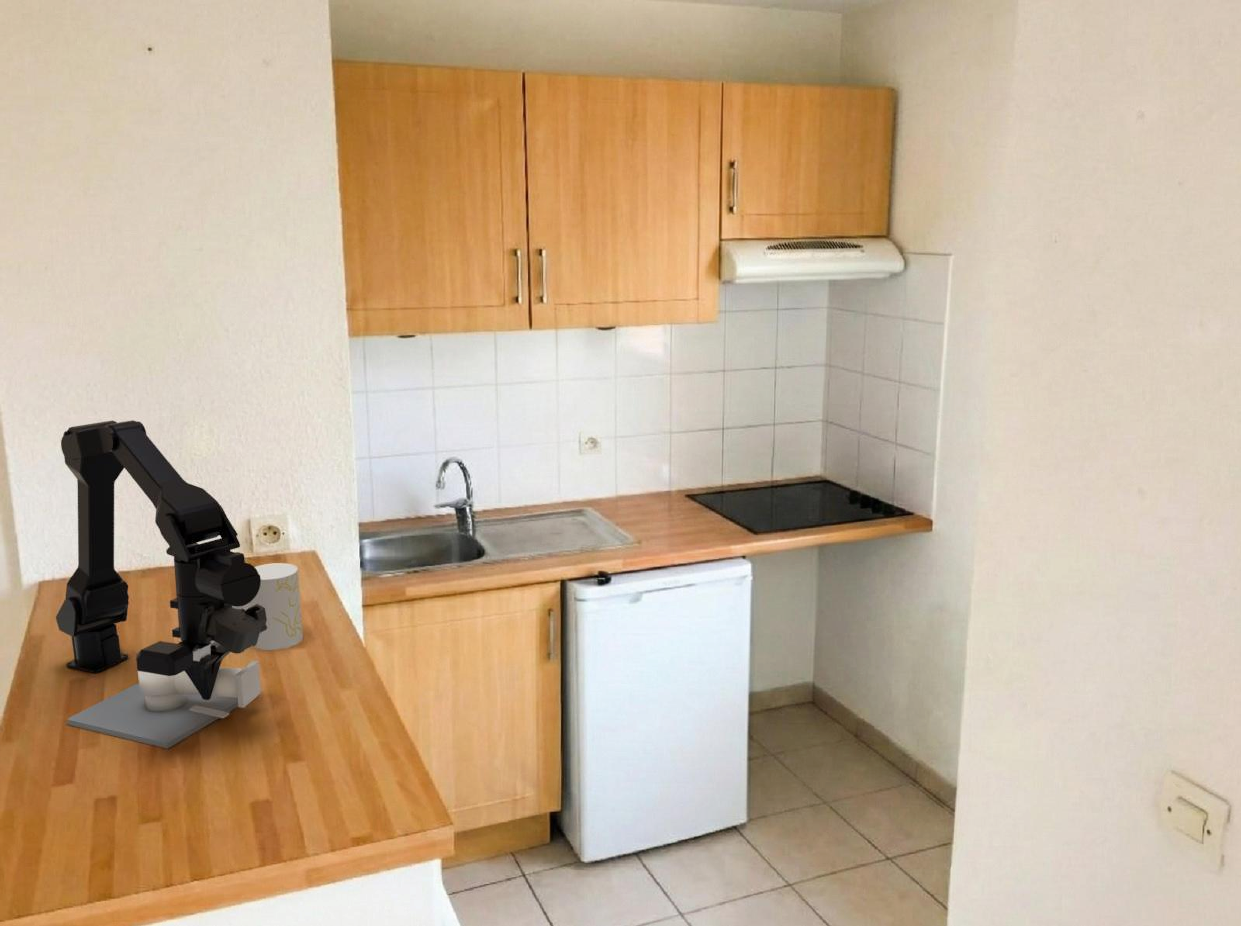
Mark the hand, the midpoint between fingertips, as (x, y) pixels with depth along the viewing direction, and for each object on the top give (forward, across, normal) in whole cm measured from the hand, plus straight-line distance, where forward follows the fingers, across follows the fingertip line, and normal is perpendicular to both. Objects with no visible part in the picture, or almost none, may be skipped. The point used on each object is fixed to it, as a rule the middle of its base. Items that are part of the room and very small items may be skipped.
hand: (206, 699), depth 148 cm
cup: (+3, +28, +9) cm, 30 cm away
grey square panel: (+3, +3, +8) cm, 9 cm away
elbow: (+1, +3, +4) cm, 5 cm away
